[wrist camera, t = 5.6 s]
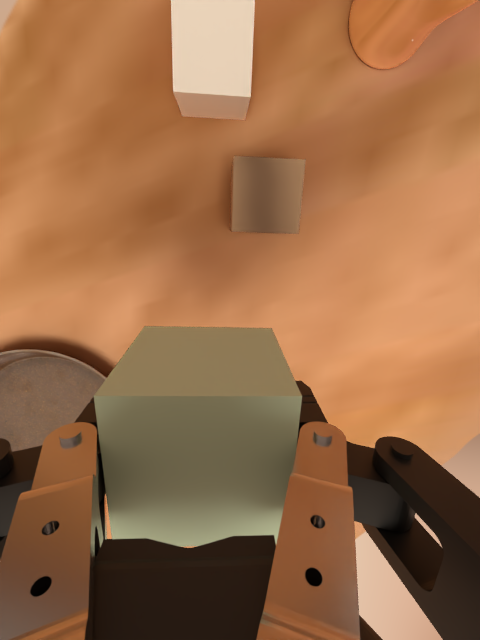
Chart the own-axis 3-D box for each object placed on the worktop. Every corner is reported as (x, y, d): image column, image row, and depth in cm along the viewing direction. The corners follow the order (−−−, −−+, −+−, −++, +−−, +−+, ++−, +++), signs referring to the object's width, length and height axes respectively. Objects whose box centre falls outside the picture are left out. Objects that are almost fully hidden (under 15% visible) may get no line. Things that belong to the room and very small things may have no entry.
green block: (271, 327, 12) (302, 396, 8) (264, 432, 14) (285, 543, 9) (144, 326, 12) (93, 396, 7) (151, 433, 14) (113, 548, 9)
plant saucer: (-71, 370, 30) (-102, 386, 27) (99, 314, 29) (86, 325, 26) (24, 501, 35) (7, 526, 32) (169, 456, 35) (164, 478, 32)
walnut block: (290, 170, 26) (305, 159, 21) (285, 231, 28) (298, 234, 23) (231, 167, 26) (233, 155, 21) (229, 229, 27) (231, 231, 23)
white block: (247, 44, 23) (254, -1, 18) (245, 120, 25) (250, 97, 20) (181, 39, 23) (170, -9, 18) (182, 116, 24) (173, 91, 20)
